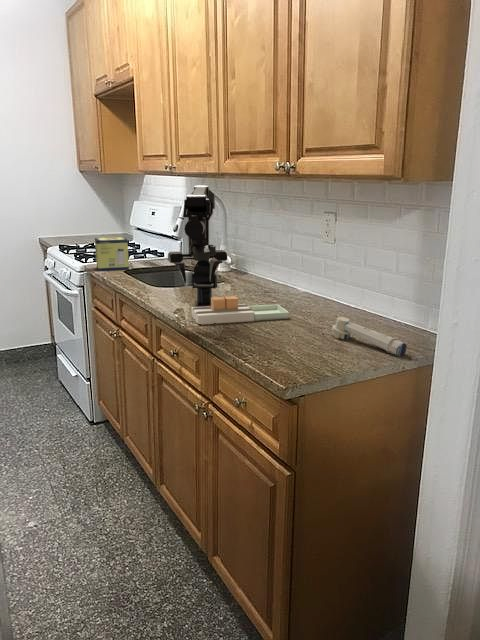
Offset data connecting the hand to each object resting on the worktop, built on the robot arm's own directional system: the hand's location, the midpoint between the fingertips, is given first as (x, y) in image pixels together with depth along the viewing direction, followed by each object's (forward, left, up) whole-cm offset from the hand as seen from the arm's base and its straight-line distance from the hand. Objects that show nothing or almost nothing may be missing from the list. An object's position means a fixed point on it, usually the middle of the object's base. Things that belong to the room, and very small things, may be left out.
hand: (198, 282), depth 181 cm
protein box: (-110, -23, -13) cm, 113 cm away
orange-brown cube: (0, +7, -10) cm, 12 cm away
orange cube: (0, +11, -10) cm, 15 cm away
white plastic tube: (+39, +42, -13) cm, 58 cm away
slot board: (0, +8, -13) cm, 15 cm away
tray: (0, +24, -13) cm, 27 cm away
